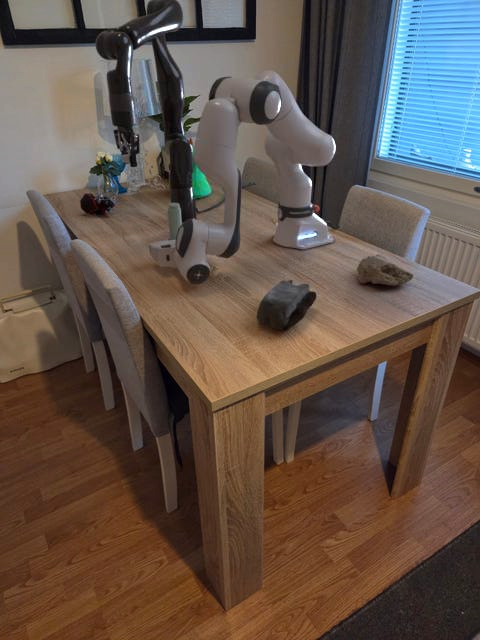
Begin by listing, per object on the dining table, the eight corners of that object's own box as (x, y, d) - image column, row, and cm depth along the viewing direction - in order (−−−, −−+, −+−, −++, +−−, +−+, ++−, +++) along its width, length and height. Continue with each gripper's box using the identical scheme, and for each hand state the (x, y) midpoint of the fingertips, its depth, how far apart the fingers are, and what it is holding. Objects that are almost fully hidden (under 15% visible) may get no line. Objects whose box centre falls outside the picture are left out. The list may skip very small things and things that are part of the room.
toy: (107, 186, 182) (78, 185, 188) (99, 205, 180) (70, 204, 185) (122, 203, 193) (95, 201, 198) (115, 222, 190) (87, 220, 196)
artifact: (374, 296, 130) (415, 290, 135) (381, 274, 126) (423, 268, 131) (341, 267, 144) (380, 262, 149) (346, 246, 140) (385, 242, 145)
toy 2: (167, 190, 223) (163, 137, 210) (207, 188, 227) (205, 135, 214) (172, 202, 206) (167, 145, 193) (214, 199, 210) (213, 143, 197)
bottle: (182, 253, 156) (178, 201, 147) (185, 257, 153) (181, 205, 143) (170, 255, 155) (165, 203, 145) (173, 259, 152) (168, 206, 142)
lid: (130, 163, 143) (129, 158, 142) (117, 161, 145) (117, 156, 144) (141, 160, 146) (140, 155, 146) (129, 158, 149) (128, 153, 148)
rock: (291, 341, 110) (294, 313, 105) (251, 329, 114) (251, 302, 110) (317, 308, 123) (320, 283, 119) (280, 299, 128) (281, 274, 124)
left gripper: (101, 107, 140) (110, 163, 149) (121, 112, 131) (129, 171, 140) (123, 105, 144) (130, 159, 153) (144, 109, 135) (150, 167, 144)
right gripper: (216, 240, 142) (204, 226, 153) (152, 248, 136) (145, 233, 147) (217, 258, 145) (205, 243, 156) (154, 267, 139) (147, 251, 150)
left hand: (130, 165), depth 146 cm, fingers closed on lid, 5 cm apart
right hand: (175, 238), depth 151 cm, fingers closed on bottle, 4 cm apart
